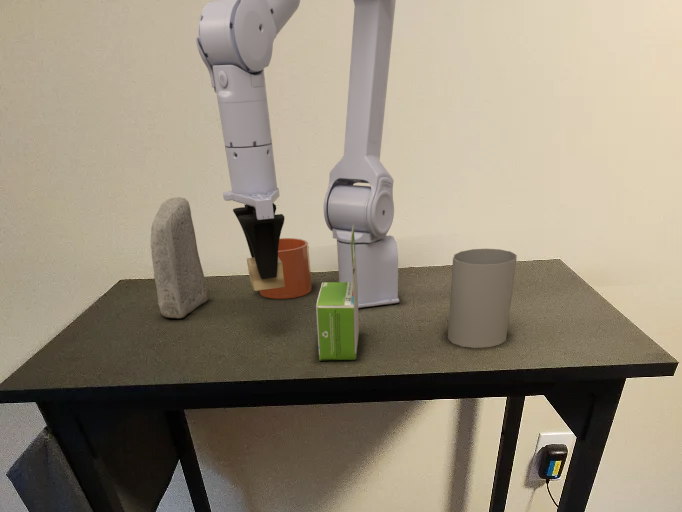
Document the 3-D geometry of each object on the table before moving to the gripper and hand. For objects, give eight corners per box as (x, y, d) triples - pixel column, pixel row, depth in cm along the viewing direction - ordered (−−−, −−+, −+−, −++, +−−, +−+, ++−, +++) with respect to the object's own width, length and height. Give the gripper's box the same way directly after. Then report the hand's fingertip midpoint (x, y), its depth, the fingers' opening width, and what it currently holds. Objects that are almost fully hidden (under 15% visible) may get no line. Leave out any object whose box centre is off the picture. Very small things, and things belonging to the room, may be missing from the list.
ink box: (324, 335, 88) (316, 222, 78) (360, 334, 87) (356, 221, 77) (319, 362, 80) (308, 241, 70) (357, 361, 80) (352, 239, 70)
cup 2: (469, 352, 81) (476, 268, 74) (436, 334, 86) (440, 255, 79) (518, 339, 83) (530, 257, 76) (484, 323, 89) (492, 245, 81)
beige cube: (279, 279, 83) (276, 253, 81) (284, 287, 81) (281, 261, 78) (250, 282, 83) (246, 257, 81) (254, 291, 80) (250, 264, 78)
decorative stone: (188, 321, 95) (162, 207, 84) (154, 320, 96) (124, 207, 85) (213, 300, 102) (193, 193, 91) (181, 299, 103) (158, 193, 92)
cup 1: (305, 281, 108) (301, 235, 103) (316, 295, 102) (312, 247, 97) (256, 286, 107) (249, 241, 102) (263, 301, 100) (257, 253, 96)
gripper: (209, 141, 75) (230, 263, 85) (222, 154, 65) (244, 291, 75) (264, 136, 76) (278, 258, 86) (284, 149, 67) (297, 284, 76)
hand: (265, 273), depth 81 cm, fingers closed on beige cube, 4 cm apart
